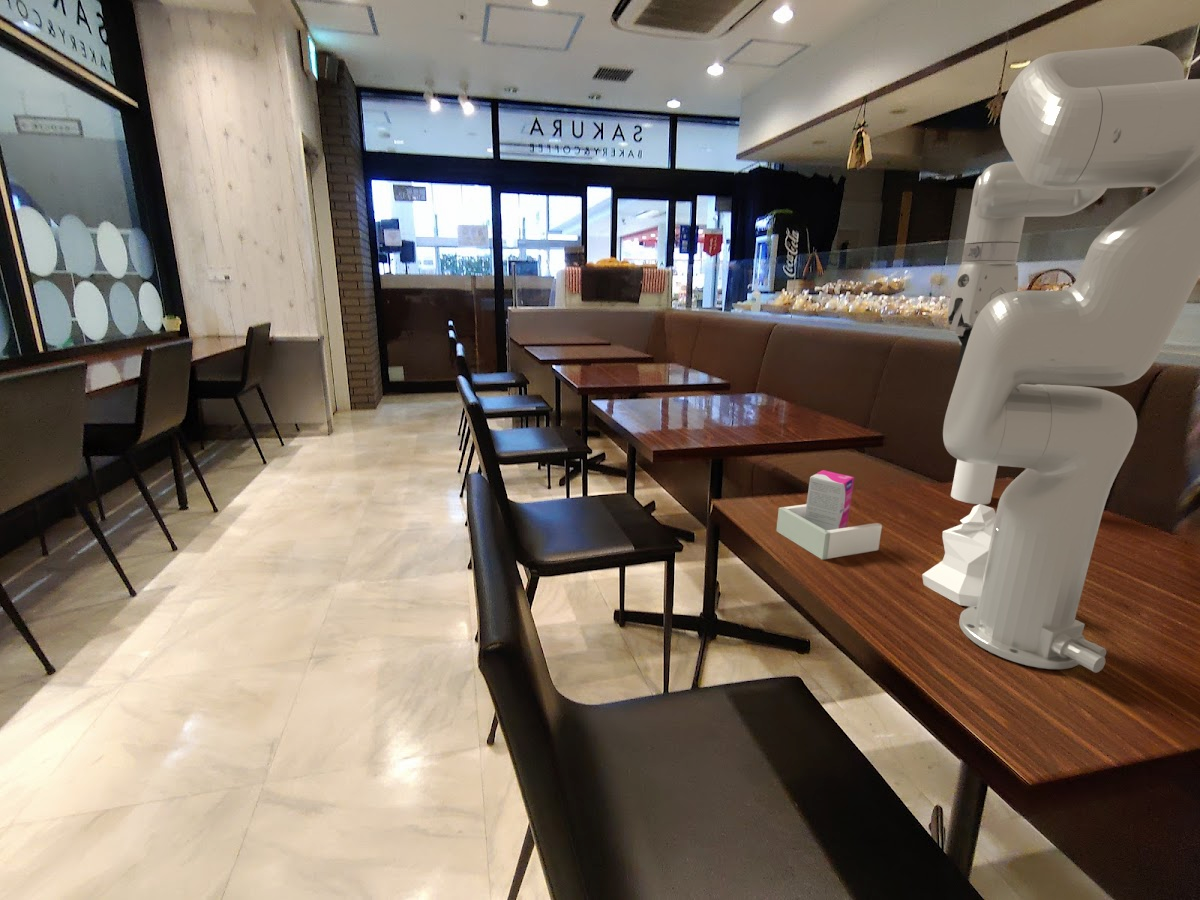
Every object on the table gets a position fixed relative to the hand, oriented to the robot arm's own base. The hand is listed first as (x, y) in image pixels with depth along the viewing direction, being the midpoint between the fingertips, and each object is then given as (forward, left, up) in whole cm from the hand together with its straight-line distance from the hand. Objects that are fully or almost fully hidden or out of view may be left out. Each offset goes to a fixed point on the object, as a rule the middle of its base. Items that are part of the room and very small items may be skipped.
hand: (969, 369), depth 99 cm
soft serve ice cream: (-20, +16, -29) cm, 39 cm away
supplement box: (+3, +24, -29) cm, 38 cm away
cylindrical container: (+10, -20, -29) cm, 37 cm away
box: (+2, +24, -29) cm, 38 cm away
